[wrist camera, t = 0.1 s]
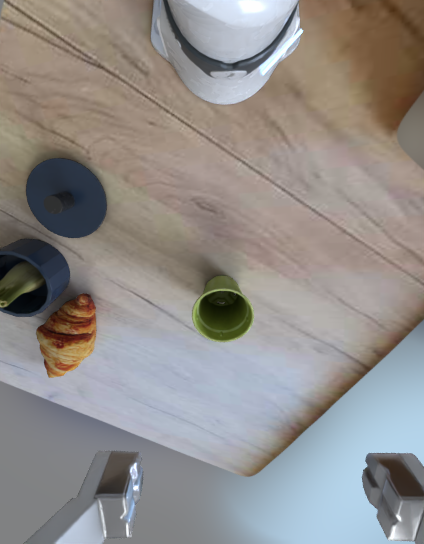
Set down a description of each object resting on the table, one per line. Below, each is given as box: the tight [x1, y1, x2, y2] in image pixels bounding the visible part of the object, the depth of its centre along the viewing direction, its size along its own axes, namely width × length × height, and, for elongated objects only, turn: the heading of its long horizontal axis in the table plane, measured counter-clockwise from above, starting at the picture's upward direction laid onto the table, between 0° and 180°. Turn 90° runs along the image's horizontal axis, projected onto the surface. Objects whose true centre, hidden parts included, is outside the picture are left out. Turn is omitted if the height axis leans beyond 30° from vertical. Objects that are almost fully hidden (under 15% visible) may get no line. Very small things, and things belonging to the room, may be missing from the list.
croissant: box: [36, 293, 96, 378], centre depth 52 cm, size 21×10×8 cm, turn 152°
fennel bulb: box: [0, 261, 46, 307], centre depth 44 cm, size 6×5×12 cm
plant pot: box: [192, 276, 254, 342], centre depth 47 cm, size 9×9×9 cm
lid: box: [26, 158, 107, 238], centre depth 42 cm, size 12×12×5 cm
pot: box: [0, 239, 70, 317], centre depth 47 cm, size 11×11×6 cm
